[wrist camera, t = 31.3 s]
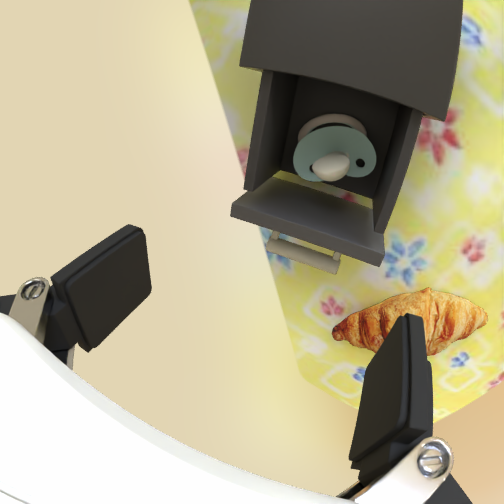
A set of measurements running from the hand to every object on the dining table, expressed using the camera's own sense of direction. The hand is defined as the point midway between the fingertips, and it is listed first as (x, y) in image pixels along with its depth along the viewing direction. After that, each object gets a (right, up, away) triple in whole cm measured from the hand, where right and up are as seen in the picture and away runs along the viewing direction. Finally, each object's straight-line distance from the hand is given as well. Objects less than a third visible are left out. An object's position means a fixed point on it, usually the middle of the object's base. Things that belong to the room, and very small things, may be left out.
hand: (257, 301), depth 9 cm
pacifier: (+7, +12, +15) cm, 20 cm away
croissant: (+20, -7, +22) cm, 31 cm away
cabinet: (+10, +23, +9) cm, 27 cm away
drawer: (+8, +11, +16) cm, 21 cm away
